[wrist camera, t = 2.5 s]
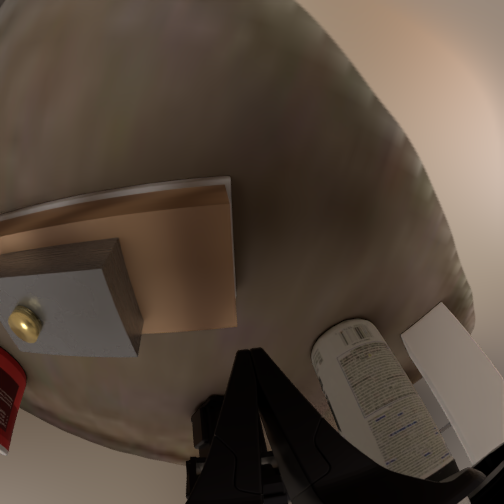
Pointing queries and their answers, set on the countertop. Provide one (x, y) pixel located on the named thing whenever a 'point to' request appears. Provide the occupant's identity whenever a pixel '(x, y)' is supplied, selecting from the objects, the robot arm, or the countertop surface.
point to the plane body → (150, 245)
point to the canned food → (9, 397)
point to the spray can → (378, 402)
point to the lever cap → (70, 300)
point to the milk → (459, 379)
